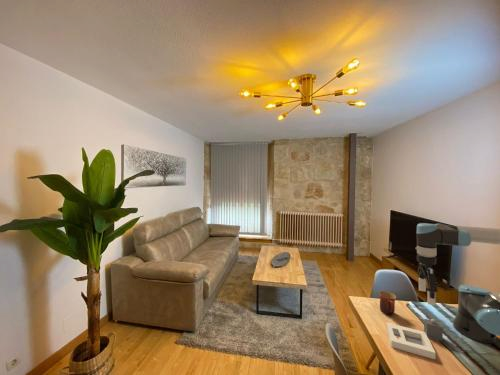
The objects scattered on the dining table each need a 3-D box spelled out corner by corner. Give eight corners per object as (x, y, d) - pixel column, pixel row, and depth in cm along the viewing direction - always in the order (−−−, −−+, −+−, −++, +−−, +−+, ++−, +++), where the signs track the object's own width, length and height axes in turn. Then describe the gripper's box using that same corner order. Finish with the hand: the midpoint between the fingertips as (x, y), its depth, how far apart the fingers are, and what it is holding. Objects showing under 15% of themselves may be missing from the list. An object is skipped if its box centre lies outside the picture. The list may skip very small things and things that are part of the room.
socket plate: (424, 337, 103) (424, 330, 103) (435, 359, 90) (435, 351, 90) (386, 328, 110) (386, 321, 110) (391, 346, 97) (391, 339, 97)
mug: (375, 306, 129) (376, 290, 129) (391, 308, 127) (392, 291, 127) (384, 319, 117) (384, 301, 117) (401, 321, 115) (402, 302, 115)
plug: (438, 335, 105) (439, 319, 104) (442, 341, 101) (443, 324, 100) (423, 332, 107) (424, 315, 107) (426, 337, 103) (427, 320, 103)
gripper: (410, 247, 117) (410, 284, 118) (425, 262, 95) (425, 308, 95) (427, 248, 114) (427, 287, 114) (446, 264, 92) (447, 312, 92)
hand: (426, 297), depth 105 cm, fingers open, 13 cm apart
